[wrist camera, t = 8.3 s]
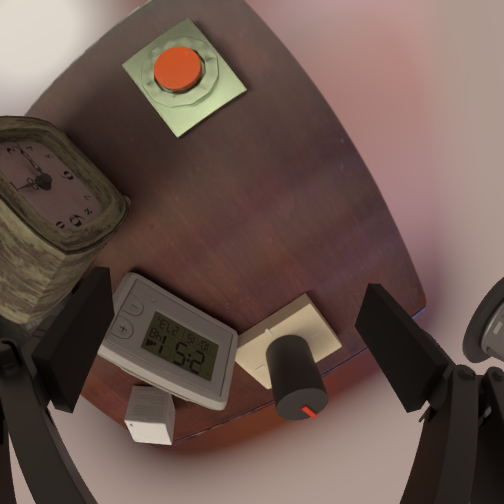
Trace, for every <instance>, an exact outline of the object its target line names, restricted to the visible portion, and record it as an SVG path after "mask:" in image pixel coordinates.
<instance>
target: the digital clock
mask: <svg viewBox="0 0 504 504" xmlns="http://www.w3.org/2000/svg"><path fill="white" fill-rule="evenodd" d="M112 298H113V305H114V313H115V316H114V318H113V320H112V322H111V324H110V327H109V329H108V331H107V333H106V335H105V337H104V339H103V341H102V344H101V346H100V348H99V350H98V352H97V354H98V355H100V356H101V357H103V358H105V359H107V360H108V361H110V362H112V363H114V364H115V365H117V366H119V367H120V368H121V369H122V370H124V371H125V372H127V373H129V374H131V375H133V376H135V377H137V378H139V379H141V380H143V381H145V382H147V383H149V384H151V385H153V386H155V387H157V388H159V389H162V390H164V391H166V392H168V393H170V394H173V395H175V396H177V397H179V398H182V399H184V400H186V401H192V402H194V403H197V404H199V405H202V406H204V407H207V408H210V409H213V410H222V409H224V408H225V406H226V403H227V399H228V394H229V389H230V384H231V378H232V373H233V368H234V362H235V357H236V352H237V346H238V334H237V332H236V331H235V330H234V329H232V328H230V327H229V326H227V325H225V324H223V323H222V322H220V321H218V320H216V319H214V318H213V317H211V316H209V315H207V314H205V313H204V312H202V311H200V310H198V309H197V308H195V307H193V306H191V305H190V304H188V303H186V302H184V301H183V300H181V299H179V298H178V297H176V296H174V295H173V294H171V293H169V292H168V291H166V290H164V289H163V288H161V287H159V286H158V285H156V284H154V283H153V282H151V281H149V280H148V279H146V278H144V277H143V276H141V275H139V274H137V273H131V272H129V273H127V274H125V276H124V277H123V278H122V280H121V282H120V284H119V285H118V287H117V289H116V290H115V292H114V294H113V296H112Z"/></svg>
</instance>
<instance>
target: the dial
mask: <svg viewBox="0 0 504 504" xmlns="http://www.w3.org/2000/svg"><path fill="white" fill-rule="evenodd" d="M266 360H267V366H268V371H269V376H270V381H271V386H272V391H273V396H274V401H275V405H276V411H277V413H278V415H279V416H281V417H282V418H284V419H287V420H302V419H306V418H309V417H312V418H315V417H316V416H317V414H318V413H319V412H320V411H322V410H323V409H324V408H325V406H326V405H327V403H328V395H327V392H326V389H325V386H324V384H323V381H322V379H321V376H320V373H319V371H318V368H317V365H316V363H315V360H314V358H313V355H312V352H311V350H310V347H309V345H308V343H307V341H306V340H305V339H303V338H302V337H300V336H296V335H287V336H282V337H280V338H278V339H276V340H274V341H273V342H272V343H271V344H270V345H269V346H268V348H267V350H266Z"/></svg>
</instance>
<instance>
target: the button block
mask: <svg viewBox="0 0 504 504" xmlns="http://www.w3.org/2000/svg"><path fill="white" fill-rule="evenodd" d="M178 46H182V47H187V48H190V49H192V50H193V51H194V52H195V53H196V54H197V55H198V57H199V59H200V62H201V65H202V73H201V76H200V79H199V80H198V82H197V83H196V84H195V85H194V86H192V87H191V88H189V89H187V90H184V91H171V90H168V89H166V88H165V87H163V86H162V85H161V84H160V83H159V82H158V81H157V80H156V78H155V75H154V65H155V62H156V60H157V58H158V57H159V56H160V55H161V54H162V53H163V52H164V51H166V50H168V49H170V48H173V47H178ZM122 67H123V68H124V69H125V71H126V72H127V73H128V75H129V76H130V77H131V79H132V80H133V81H134V82H135V84H136V85H137V86H138V88H139V89H140V90H141V92H142V93H143V94H144V95H145V97H146V98H147V99H148V101H149V102H150V103H151V105H152V106H153V107H154V109H155V110H156V111H157V112H158V114H159V115H160V116H161V118H162V119H163V120H164V122H165V123H166V124H167V126H168V127H169V128H170V130H171V131H172V132H173V133H174V135H175V136H176V137H177V138H182V137H183V136H184V135H186V134H187V133H188V132H190V131H191V130H192V129H194V128H195V127H197V126H198V125H199V124H201V123H202V122H203V121H205V120H206V119H208V118H209V117H211V116H212V115H213V114H215V113H216V112H218V111H219V110H221V109H222V108H224V107H225V106H227V105H228V104H230V103H231V102H233V101H234V100H236V99H237V98H239V97H240V96H242V95H244V94H245V93H246V91H247V89H246V87H245V86H244V85H243V83H242V82H241V81H240V80H239V78H238V77H237V76H236V74H235V73H234V72H233V70H232V69H231V68H230V67H229V65H228V64H227V63H226V62H225V60H224V59H223V58H222V57H221V55H220V54H219V53H218V52H217V50H216V49H215V48H214V47H213V46H212V44H211V43H210V42H209V41H208V39H207V38H206V37H205V36H204V35H203V34H202V32H201V31H200V30H199V29H198V28H197V27H196V25H195V24H194V23H193V22H192V21H191V20H190V19H189V18H187V19H186V20H184V21H182V22H181V23H179V24H178V25H176V26H174V27H173V28H171V29H170V30H168V31H167V32H165V33H164V34H162V35H161V36H159V37H158V38H157V39H155V40H154V41H152V42H151V43H150V44H148V45H147V46H145V47H144V48H143V49H141V50H140V51H139V52H137V53H136V54H135V55H134V56H132V57H131V58H130V59H128V60H127V61H126V62H125V63H124V64H122Z"/></svg>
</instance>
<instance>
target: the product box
mask: <svg viewBox="0 0 504 504" xmlns="http://www.w3.org/2000/svg"><path fill="white" fill-rule="evenodd" d="M174 419H175V407H174V403H173V400H172V396H171V394H170V393H168V392H166V391H164V390H162V389H159V388H157V387H147V386H133V388H132V392H131V396H130V400H129V404H128V408H127V412H126V416H125V423H126V425H127V427H128V428H129V430H130V433H131V434H132V437H133V438H134V440H135V441H136V442H146V443H156V444H168V445H172V439H173V429H174Z"/></svg>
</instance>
